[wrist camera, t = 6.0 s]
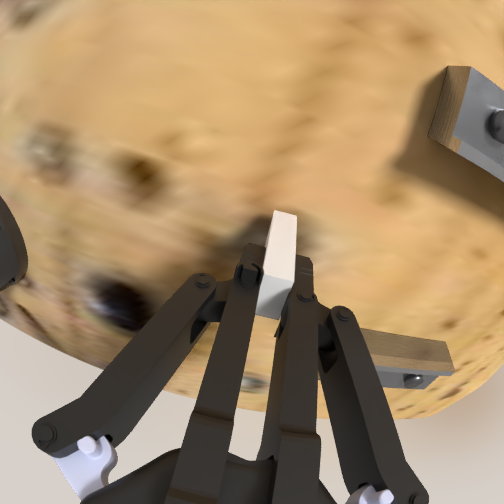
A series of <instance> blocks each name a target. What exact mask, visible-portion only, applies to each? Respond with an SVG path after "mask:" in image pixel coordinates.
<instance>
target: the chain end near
mask: <svg viewBox="0 0 504 504" xmlns="http://www.w3.org/2000/svg"><path fill="white" fill-rule="evenodd" d="M428 137H430V138H431V139H433V140H435V141H437V142H439V143H440V144H442V145H444V146H445V147H447V148H449V149H451V150H452V151H454V152H455V153H457V154H459V155H461V156H462V157H464V158H466V159H468V160H469V161H471V162H473V163H474V164H476V165H478V166H479V167H481V168H483V169H484V170H486V171H488V172H489V173H491V174H492V175H494V176H495V177H497V178H498V179H500V180H501V181H503V182H504V91H503V90H502V89H501V88H500V87H498V86H497V85H496V84H495V83H493V82H492V81H491V80H489V79H488V78H487V77H485V76H484V75H482V74H481V73H480V72H478V71H477V70H475V69H474V68H472V67H468V66H448V68H447V72H446V76H445V80H444V84H443V88H442V91H441V95H440V99H439V102H438V105H437V109H436V112H435V115H434V118H433V122H432V125H431V128H430V131H429V134H428Z"/></svg>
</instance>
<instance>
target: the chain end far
mask: <svg viewBox="0 0 504 504" xmlns="http://www.w3.org/2000/svg"><path fill="white" fill-rule="evenodd" d="M360 330H361V332H362V335H363V337H364V340H365V342H366V345H367V347H368V350H369V353H370V355H371V358H372V360H373V363H374V366H375V368H376V371H377V374H378V377H379V379H380V382H381V385H382V387H387V388H404V389H425V388H426V387H427V386H428V385H429V384H431V383H432V382H433V381H434V380H435V379H436V378H437V377H438V376H451V375H452V374H453V373H454V372H455V369H454V366H453V363H452V360H451V357H450V353H449V350H448V348H447V345H446V342H443V341H435V340H429V339H422V338H415V337H409V336H403V335H397V334H391V333H385V332H379V331H373V330H368V329H362V328H360ZM318 380H320V376H319V372H318Z"/></svg>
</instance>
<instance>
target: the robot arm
mask: <svg viewBox="0 0 504 504" xmlns="http://www.w3.org/2000/svg"><path fill="white" fill-rule="evenodd" d="M296 228H297V216H295V215H291V214H288V213H284V212H280V211H276V210H274V213H273V217H272V221H271V225H270V228H269V232H268V236H267V239H266V243H265V247H262V246H258V245H254V244H251V243H249V244H248V245H247V246H245V247H244V250H243V253H242V256H241V259H240V262H239V263H238V264H237V266H236V269H235V274H234V278H233V279H231V280H229V281H224V282H216V280H215V278H214V277H213V276H211V275H209V274H206V273H197V274H194V275H192V276H191V277H190V278H189V279H188V280H187V281H186V282H185V283H184V284H183V285H182V286H181V287H180V288H179V289H178V290H177V291H176V292H175V293H174V295H173V296H172V297H171V298H170V299H169V300H168V301H167V302H166V303H165V304H164V305H163V306H162V307H161V308H160V309H159V311H158V312H157V313H156V314H155V315H154V316H153V317H152V318H151V319H150V320H149V321H148V322H147V323H146V325H145V326H144V327H143V328H142V329H141V330H140V331H139V332H138V333H137V334H136V335H135V336H134V338H133V339H132V340H131V341H130V342H129V343H128V344H127V345H126V346H125V347H124V349H123V350H122V351H121V352H120V353H119V354H118V355H117V356H116V357H115V358H114V360H113V361H112V362H111V363H110V364H109V365H108V366H107V367H106V369H105V370H104V371H103V372H102V373H101V374H100V375H99V376H98V378H97V379H96V380H95V381H94V382H93V383H92V384H91V385H90V387H89V388H88V389H87V390H86V391H85V392H84V393H83V395H82V396H81V397H80V398H78V399H76V400H74V401H72V402H71V403H69V404H67V405H65V406H63V407H61V408H59V409H57V410H55V411H54V412H52V413H50V414H48V415H46V416H44V417H42V418H40V419H39V420H37V421H36V422H35V423H34V425H33V428H32V438H33V441H34V443H35V444H36V446H37V447H38V448H39V449H41V450H42V451H44V452H45V453H47V454H49V455H50V456H51V457H53V459H54V460H55V462H56V463H57V465H58V467H59V468H60V470H61V471H62V473H63V475H64V476H65V478H66V479H67V481H68V482H69V484H70V485H71V487H72V488H73V489H74V491H75V492H76V494H77V495H78V497H79V498H80V499H81V503H80V504H337V503H336V502H335V500H334V499H333V498H332V496H331V495H330V493H329V492H328V490H327V489H326V488H325V486H324V485H323V484H322V482H321V481H320V479H319V471H320V470H319V469H320V456H321V438H320V436H319V435H318V434H317V433H316V418H317V391H318V372H319V376H320V380H321V384H322V388H323V392H324V396H325V401H326V405H327V409H328V413H329V417H330V422H331V426H332V430H333V435H334V439H335V444H336V448H337V453H338V457H339V462H340V467H341V471H342V475H343V479H344V482H345V485H346V487H347V490H348V492H349V494H350V497H349V498H348V500H347V502H346V504H428V503H429V495H428V493H427V491H426V489H425V488H424V486H423V485H422V483H421V482H420V481H419V479H418V478H417V476H416V475H415V474H414V472H413V470H412V469H411V468H410V466H409V465H408V463H407V462H406V460H405V457H404V453H403V450H402V446H401V443H400V440H399V436H398V433H397V430H396V427H395V424H394V420H393V417H392V414H391V411H390V408H389V405H388V402H387V399H386V396H385V394H384V391H383V388H382V385H381V382H380V379H379V377H378V374H377V371H376V368H375V366H374V363H373V360H372V358H371V355H370V353H369V350H368V347H367V345H366V342H365V340H364V337H363V335H362V332H361V330H360V327H359V325H358V322H357V320H356V317H355V315H354V314H353V312H352V311H351V310H350V309H348V308H346V307H344V306H335V307H333V308H332V309H329V308H327V307H325V306H323V305H322V304H320V303H319V302H318V300H317V296H316V295H315V294H314V285H313V263H312V262H311V260H310V258H308V257H304V256H300V255H296ZM27 268H28V256H27V251H26V247H25V243H24V240H23V237H22V234H21V232H20V229H19V227H18V225H17V223H16V220H15V218H14V217H13V215H12V213H11V211H10V209H9V208H8V206H7V205H6V203H5V202H4V200H3V199H2V197H1V196H0V291H2V290H4V289H6V288H7V287H9V286H11V285H13V284H15V283H16V282H18V281H19V280H20V279H21V277H22V276H23V275H24V274H25V273H26V271H27ZM255 315H259V316H263V317H267V318H272V319H276V320H279V318H280V316H281V320H280V323H279V326H278V328H277V330H276V333H275V335H274V337H276V336H277V337H276V345H275V352H274V360H273V367H272V375H271V382H270V389H269V396H268V403H267V410H266V416H265V423H264V430H263V435H262V442H261V446H260V450H259V452H258V455H257V458H256V461H248V460H245V459H243V458H240V457H238V456H236V455H234V454H231V453H229V452H228V450H229V445H230V441H231V436H232V430H233V425H234V415H235V410H236V406H237V401H238V396H239V391H240V386H241V382H242V377H243V372H244V367H245V362H246V357H247V352H248V347H249V342H250V337H251V332H252V327H253V322H254V317H255ZM211 322H220V324H219V328H218V331H217V334H216V337H215V341H214V344H213V347H212V351H211V354H210V357H209V360H208V364H207V367H206V370H205V374H204V377H203V380H202V384H201V387H200V390H199V394H198V397H197V400H196V404H195V407H194V410H193V412H192V414H191V416H190V420H189V423H188V427H187V429H186V433H185V436H184V440H183V443H182V446H181V448H178V449H174V450H171V451H168V452H166V453H164V454H162V455H161V456H159V457H157V458H156V459H154V460H152V461H151V462H149V463H147V464H146V465H144V466H142V467H140V468H139V469H137V470H135V471H133V472H131V473H130V474H128V475H126V476H124V477H122V478H120V479H119V480H117V481H115V482H113V483H111V484H109V483H108V475H109V473H110V471H111V470H112V469H113V468H114V467H115V466H116V464H117V460H118V456H117V453H116V450H115V449H114V448H115V447H117V446H118V445H119V444H120V443H121V442H122V441H124V440H125V438H126V437H127V436H128V435H129V434H130V432H131V431H132V430H133V429H134V427H135V426H136V425H137V423H138V422H139V420H140V419H141V417H142V416H143V415H144V414H145V412H146V411H147V410H148V408H149V407H150V406H151V404H152V403H153V401H154V400H155V398H156V397H157V396H158V395H159V393H160V392H161V391H162V389H163V388H164V387H165V385H166V384H167V382H168V381H169V380H170V378H171V377H172V376H173V374H174V373H175V371H176V370H177V369H178V367H179V366H180V365H181V363H182V362H183V361H184V359H185V358H186V356H187V355H188V354H189V352H190V351H191V350H192V348H193V347H194V345H195V344H196V343H197V341H198V340H199V339H200V337H201V336H202V334H203V333H204V332H205V330H206V329H207V328H208V326H209V325H210V323H211Z"/></svg>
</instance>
